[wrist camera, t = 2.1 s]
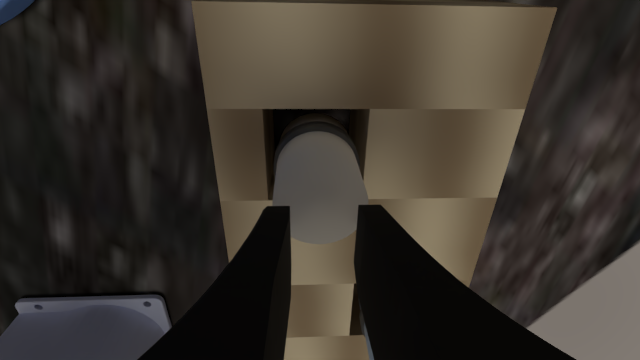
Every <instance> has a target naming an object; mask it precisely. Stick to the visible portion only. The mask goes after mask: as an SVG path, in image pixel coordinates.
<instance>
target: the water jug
mask: <svg viewBox="0 0 640 360" xmlns="http://www.w3.org/2000/svg"><path fill="white" fill-rule="evenodd" d="M34 1H35V0H0V25H1V24H3V23H5V22H7V21H9V20H11V19H12V18H14V17H15V16H17V15H18V14H20V13H21V12H22V11H24V10H25V9H26V8H27V7H28V6H29V5H31V4H32V3H33V2H34Z"/></svg>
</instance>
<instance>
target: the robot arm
mask: <svg viewBox="0 0 640 360" xmlns="http://www.w3.org/2000/svg"><path fill="white" fill-rule="evenodd" d="M354 270H355V278H356V285H357V292H358V298H359V302H360V306H361V310H362V314H363V318H364V322H365V326H366V330H367V333H368V337H369V341H370V345H371V349H372V353H373V357H374V360H576V359H574V358H573V357H571V356H569V355H568V354H566V353H564V352H562V351H561V350H559V349H558V348H556V347H554V346H552V345H551V344H549V343H548V342H546V341H544V340H543V339H541V338H540V337H538V336H537V335H535V334H534V333H532V332H530V331H529V330H527V329H526V328H524V327H523V326H521V325H520V324H518V323H517V322H515V321H514V320H512V319H511V318H509V317H508V316H506V315H505V314H503V313H502V312H500V311H499V310H498V309H496V308H495V307H494V306H492V305H491V304H490V303H488V302H487V301H486V300H484V299H483V298H481V297H480V296H479V295H477V294H476V293H475V292H473V291H472V290H471V289H469V288H468V287H467V286H466V285H464V284H463V283H462V282H461V281H459V280H458V279H457V278H456V277H455V276H454V275H452V274H451V273H450V272H449V271H448V270H447V269H445V268H444V267H443V266H442V265H441V264H440V263H439V262H437V261H436V260H435V259H434V258H433V257H432V256H431V255H430V254H429V253H428V252H427V251H426V250H425V249H424V248H423V247H421V246H420V245H419V244H418V243H417V242H416V241H415V240H414V239H413V238H412V237H411V236H410V235H409V234H408V233H407V232H406V230H405V229H404V228H403V227H402V226H401V225H400V224H399V223H398V222H397V221H396V220H395V219H394V218H393V217H392V216H391V215H390V214H389V213H388V211H387V210H386V209H385V208H384V207H383V206H382V205H358V217H357V228H356V240H355V251H354ZM290 302H291V229H290V206H267V207H266V208H264V209H263V211H262V213H261V215H260V217H259V219H258V221H257V222H256V224H255V226H254V227H253V229H252V231H251V232H250V234H249V235H248V237H247V239H246V240H245V241H244V243H243V244H242V246H241V247H240V249H239V250H238V252H237V253H236V254H235V256H234V257H233V259H232V260H231V261H230V263H229V264H228V265H227V266H226V268H225V269H224V270H223V271H222V273H221V274H220V275H219V276H218V278H217V279H216V280H215V281H214V283H213V284H212V285H211V286H210V287H209V289H208V290H207V291H206V292H205V293H204V294H203V295H202V297H201V298H200V299H199V300H198V301H197V302H196V303H195V304H194V305H193V306H192V307H191V308H190V309H189V311H188V312H187V313H186V314H185V315H184V316H183V317H182V318H181V319H180V320H179V321H178V322H177V323H176V324H175V325H174V326H173V327H172V326H171V322H170V319H169V315H168V312H167V308H166V305H165V301H164V299H163V297H161V296H160V295H124V296H87V297H51V298H22V299H19V300H18V301H17V303H16V304H15V308H16V309H17V311H18V313H19V315H18V316H17V317H16V318H15V319H14V321H13V322H12V323H11V324H10V325H9V327H8V328H7V329H6V330H5V331H4V333H3V334H2V335H1V336H0V360H284V353H285V345H286V336H287V328H288V319H289V311H290Z"/></svg>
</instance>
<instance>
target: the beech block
mask: <svg viewBox="0 0 640 360" xmlns="http://www.w3.org/2000/svg"><path fill="white" fill-rule="evenodd" d="M191 3H192V10H193V17H194V24H195V31H196V37H197V44H198V51H199V58H200V65H201V72H202V79H203V86H204V93H205V100H206V107H207V114H208V121H209V127H210V134H211V141H212V148H213V155H214V162H215V169H216V176H217V183H218V190H219V197H220V204H221V210H222V217H223V224H224V231H225V238H226V245H227V252H228V259H229V263H230V261H231V260H232V259H233V257H234V256H235V254H236V253H237V252H238V250H239V249H240V247H241V246H242V244H243V243H244V241H245V240H246V239H247V237H248V235H249V234H250V232H251V231H252V229H253V227H254V226H255V224H256V222H257V221H258V219H259V217H260V215H261V213H262V211H263V209H264V208H266V207H267V206H272V201H273V193H274V184H275V175H274V157H275V142H274V121H273V109H350V120H349V136H350V137H351V139H352V140H353V142H354V144H355V147H356V150H357V153H358V156H359V161H360V173H361V176H362V179H363V182H364V185H365V188H366V191H367V195H368V205H382V206H383V207H384V208H385V209H386V210H387V211H388V213H389V214H390V215H391V216H392V217H393V218H394V219H395V220H396V221H397V222H398V223H399V224H400V225H401V226H402V227H403V228H404V229H405V230H406V232H407V233H408V234H409V235H410V236H411V237H412V238H413V239H414V240H415V241H416V242H417V243H418V244H419V245H420V246H421V247H423V248H424V249H425V250H426V251H427V252H428V253H429V254H430V255H431V256H432V257H433V258H434V259H435V260H436V261H437V262H439V263H440V264H441V265H442V266H443V267H444V268H445V269H447V270H448V271H449V272H450V273H451V274H452V275H454V276H455V277H456V278H457V279H458V280H459V281H461V282H462V283H463V284H464V285H466V286H467V287H468V288H469V285H470V282H471V279H472V275H473V272H474V269H475V266H476V263H477V260H478V256H479V253H480V250H481V247H482V244H483V241H484V238H485V234H486V231H487V228H488V225H489V222H490V219H491V215H492V212H493V209H494V206H495V203H496V200H497V197H498V193H499V190H500V187H501V184H502V181H503V178H504V174H505V171H506V168H507V165H508V162H509V159H510V155H511V152H512V149H513V146H514V143H515V140H516V137H517V133H518V130H519V127H520V124H521V121H522V118H523V114H524V111H525V108H526V105H527V102H528V99H529V95H530V92H531V89H532V86H533V83H534V80H535V77H536V73H537V70H538V67H539V64H540V61H541V58H542V54H543V51H544V48H545V45H546V42H547V39H548V36H549V32H550V29H551V26H552V23H553V20H554V17H555V13H556V10H557V8H556V7H546V6H537V5H527V4H517V3H508V2H498V1H489V0H194V1H191ZM355 240H356V230H355V231H354V232H353V233H352V234H350V235H349V236H347V237H345V238H344V239H341V240H339V241H336V242H333V243H327V244H310V243H305V242H301V241H299V240H296V239H294V238H292V237H291V302H290V311H289V319H288V328H287V336H286V345H285V353H284V360H369V354H368V349H367V344H366V338H365V337H364V335H363V333H362V330H361V324H360V319H359V314H360V306H359V301H358V292H357V285H356V278H355V270H354V251H355Z"/></svg>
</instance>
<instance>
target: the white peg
mask: <svg viewBox="0 0 640 360" xmlns="http://www.w3.org/2000/svg"><path fill="white" fill-rule="evenodd" d="M274 175H275V184H274V193H273V201H272V206H290V229H291V237H292V238H294V239H296V240H299V241H301V242H305V243H310V244H327V243H333V242H336V241H339V240H341V239H344V238H345V237H347V236H349V235H350V234H352V233H353V232H354V231H355V230H356V228H357V217H358V205H368V195H367V191H366V188H365V185H364V182H363V179H362V176H361V173H360V161H359V156H358V153H357V150H356V147H355V144H354V142H353V140H352V139H351V137H350V136H349V135H348V133H347V131H346V129H345V128H344V126H343V125H342V124H341V123H340V122H339V121H338V120H336V119H335V118H333V117H331V116H328V115H325V114H320V113H310V114H305V115H302V116H300V117H298V118H296V119H294V120H293V121H291V122H290V123H289V124H288V125H287V126H286V128H285V129H284V131H283V133H282V135H281V138H280V141H279V143H278V145H277V148H276V151H275V157H274Z"/></svg>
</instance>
